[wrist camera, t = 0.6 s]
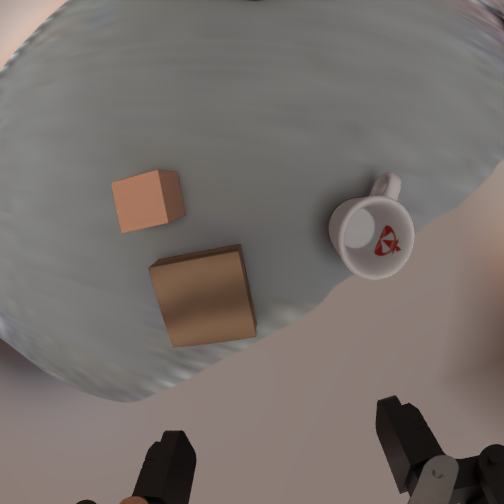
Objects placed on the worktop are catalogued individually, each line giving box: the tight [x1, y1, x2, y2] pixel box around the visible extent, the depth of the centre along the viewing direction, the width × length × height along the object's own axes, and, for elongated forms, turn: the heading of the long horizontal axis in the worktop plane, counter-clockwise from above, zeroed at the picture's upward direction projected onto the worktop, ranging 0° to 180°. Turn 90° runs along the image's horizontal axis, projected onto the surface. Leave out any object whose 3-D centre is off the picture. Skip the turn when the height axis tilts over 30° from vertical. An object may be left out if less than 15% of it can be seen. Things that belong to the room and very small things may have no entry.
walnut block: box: [149, 244, 257, 348], centre depth 34 cm, size 10×10×4 cm
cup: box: [329, 172, 414, 280], centre depth 29 cm, size 11×8×8 cm
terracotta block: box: [111, 170, 186, 233], centre depth 30 cm, size 5×5×7 cm
